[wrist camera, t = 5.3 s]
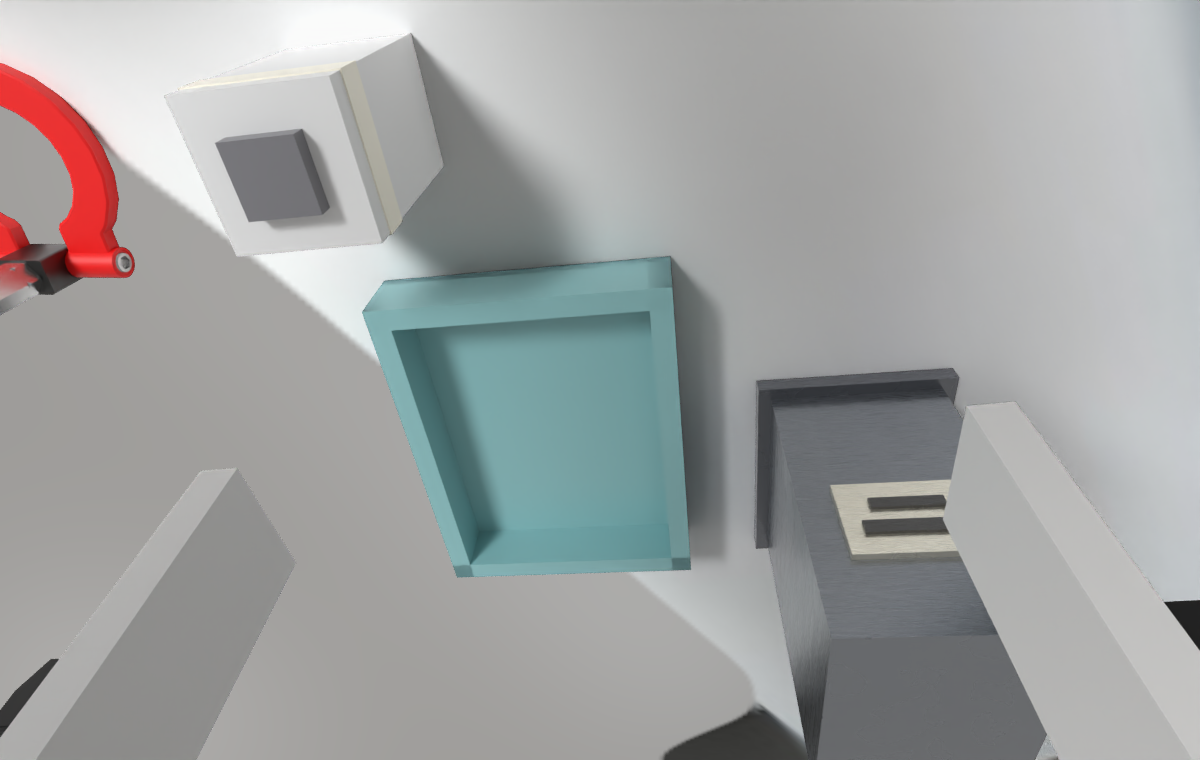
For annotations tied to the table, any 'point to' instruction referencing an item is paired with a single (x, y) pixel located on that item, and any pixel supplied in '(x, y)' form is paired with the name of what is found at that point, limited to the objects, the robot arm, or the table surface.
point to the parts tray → (542, 414)
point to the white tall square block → (312, 144)
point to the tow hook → (21, 270)
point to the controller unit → (880, 573)
